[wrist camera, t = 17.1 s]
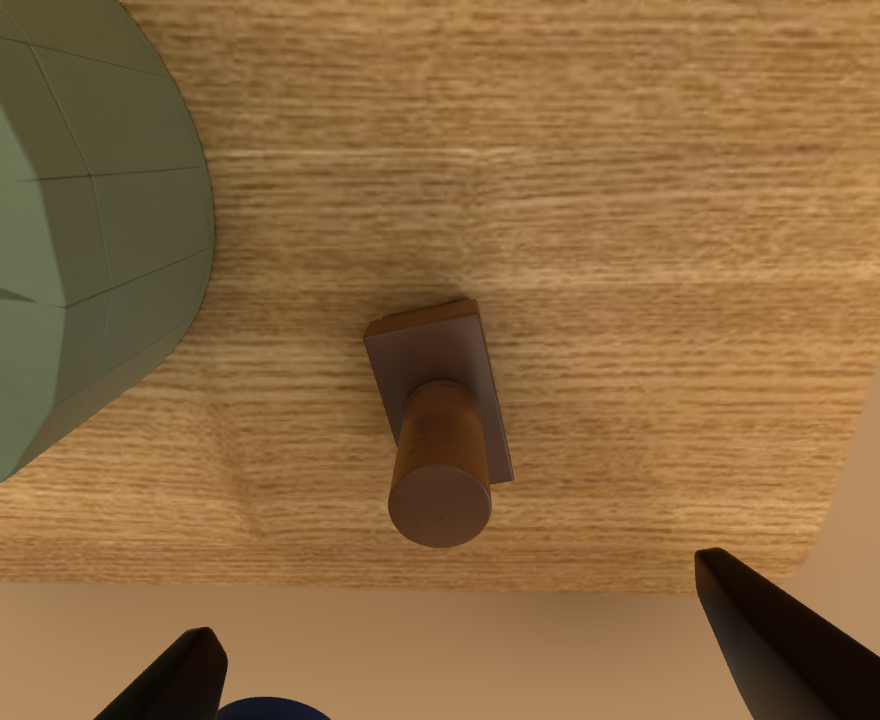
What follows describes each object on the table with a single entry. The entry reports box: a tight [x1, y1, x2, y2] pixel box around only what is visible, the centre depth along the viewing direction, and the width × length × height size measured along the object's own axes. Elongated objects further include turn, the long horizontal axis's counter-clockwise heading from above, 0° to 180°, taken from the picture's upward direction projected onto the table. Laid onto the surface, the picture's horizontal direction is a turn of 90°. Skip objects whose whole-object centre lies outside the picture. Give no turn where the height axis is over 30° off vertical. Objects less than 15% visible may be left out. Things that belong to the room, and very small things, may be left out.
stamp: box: [363, 298, 514, 548], centre depth 15 cm, size 6×4×7 cm, turn 13°
